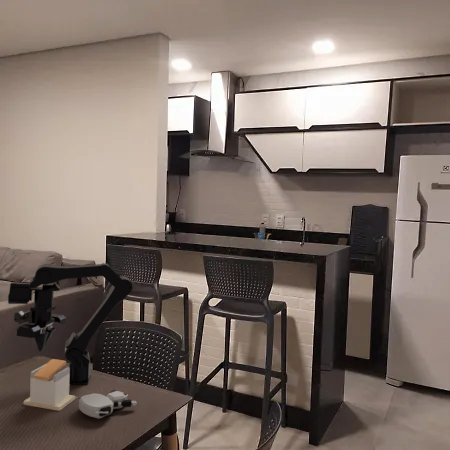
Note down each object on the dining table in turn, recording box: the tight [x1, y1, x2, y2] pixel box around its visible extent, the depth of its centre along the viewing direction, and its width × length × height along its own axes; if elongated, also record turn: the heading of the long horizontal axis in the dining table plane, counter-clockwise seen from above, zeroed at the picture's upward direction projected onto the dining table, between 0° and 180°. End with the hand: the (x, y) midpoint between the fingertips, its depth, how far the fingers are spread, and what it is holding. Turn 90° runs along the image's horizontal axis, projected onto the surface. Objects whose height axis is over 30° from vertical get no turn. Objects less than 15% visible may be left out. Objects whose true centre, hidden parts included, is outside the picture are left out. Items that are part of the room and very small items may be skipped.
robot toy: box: [74, 389, 138, 420], centre depth 128 cm, size 12×4×15 cm
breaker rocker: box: [33, 358, 67, 381], centre depth 131 cm, size 9×5×2 cm, turn 166°
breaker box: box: [23, 363, 76, 412], centre depth 132 cm, size 8×12×10 cm, turn 76°
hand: (40, 350), depth 143 cm, fingers closed
